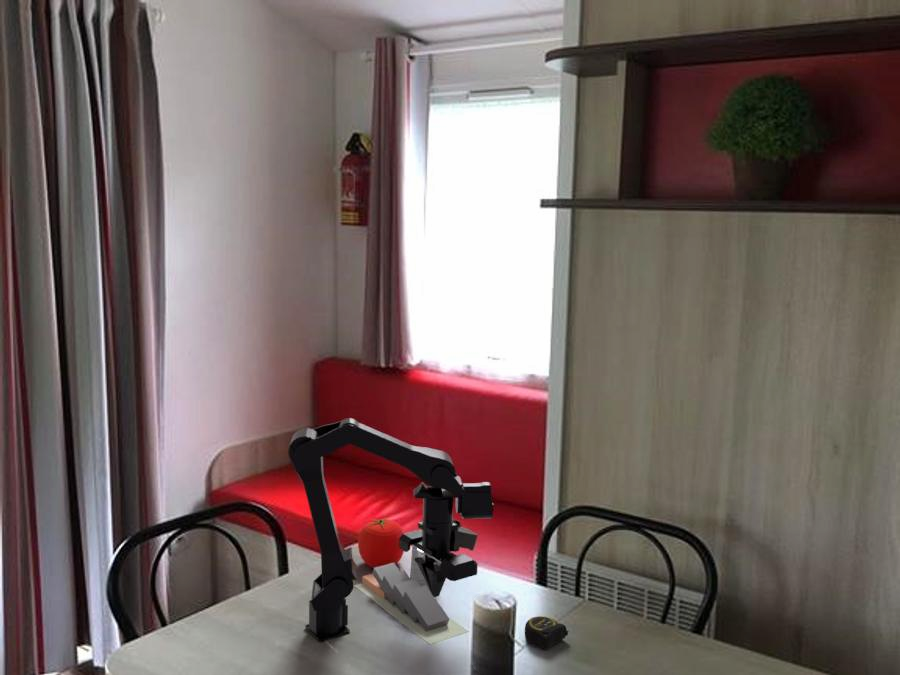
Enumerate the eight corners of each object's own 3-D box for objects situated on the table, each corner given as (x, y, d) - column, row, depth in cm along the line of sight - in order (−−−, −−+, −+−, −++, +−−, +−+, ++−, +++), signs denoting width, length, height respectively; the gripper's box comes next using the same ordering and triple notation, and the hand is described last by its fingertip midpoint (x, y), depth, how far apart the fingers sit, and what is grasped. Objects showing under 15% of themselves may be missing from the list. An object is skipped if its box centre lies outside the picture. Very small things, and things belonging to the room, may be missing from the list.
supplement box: (436, 592, 170) (439, 540, 169) (408, 591, 170) (410, 539, 169) (437, 581, 176) (439, 530, 175) (410, 579, 176) (412, 529, 175)
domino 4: (416, 617, 156) (394, 584, 162) (414, 623, 157) (392, 589, 163) (437, 610, 159) (415, 578, 165) (435, 616, 160) (413, 583, 166)
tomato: (414, 566, 183) (415, 521, 182) (377, 579, 176) (378, 532, 174) (385, 552, 191) (386, 508, 189) (349, 564, 184) (349, 518, 182)
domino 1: (384, 592, 166) (362, 576, 173) (383, 599, 166) (362, 583, 174) (404, 586, 169) (382, 570, 176) (404, 593, 169) (382, 577, 176)
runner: (429, 645, 149) (430, 644, 149) (354, 586, 172) (354, 585, 172) (468, 632, 154) (468, 631, 154) (389, 576, 178) (389, 575, 178)
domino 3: (404, 608, 160) (383, 575, 166) (402, 614, 160) (382, 581, 166) (425, 602, 163) (404, 570, 169) (423, 607, 163) (402, 575, 169)
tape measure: (545, 656, 147) (546, 636, 147) (516, 641, 152) (517, 622, 151) (567, 643, 152) (569, 624, 151) (539, 629, 157) (540, 611, 156)
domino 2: (393, 599, 163) (373, 567, 169) (392, 605, 164) (372, 573, 170) (414, 593, 166) (394, 562, 172) (412, 599, 167) (392, 567, 173)
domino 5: (428, 625, 153) (405, 591, 159) (426, 631, 154) (403, 597, 160) (449, 618, 156) (426, 585, 162) (447, 624, 157) (424, 591, 163)
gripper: (501, 525, 150) (498, 604, 152) (444, 496, 165) (442, 569, 167) (453, 538, 143) (450, 620, 146) (397, 506, 158) (396, 581, 161)
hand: (435, 595), depth 155 cm, fingers closed
